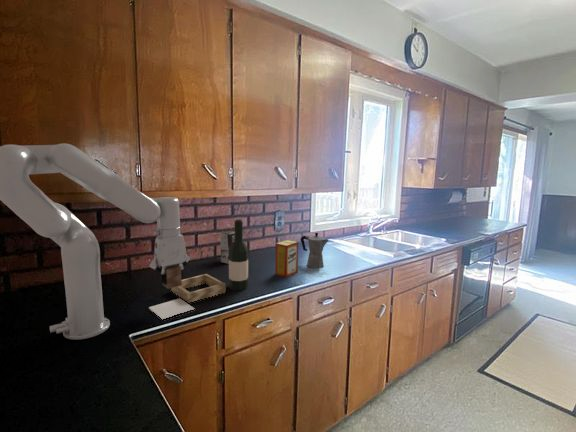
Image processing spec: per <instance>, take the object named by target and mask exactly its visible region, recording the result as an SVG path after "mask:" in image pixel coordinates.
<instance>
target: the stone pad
mask: <svg viewBox="0 0 576 432" xmlns="http://www.w3.org/2000/svg"><path fill="white" fill-rule="evenodd" d="M194 309H195V310H196V308H195V307H193V306H191V305H190V304H188V303H187V302H185V301H184V300H182V299H181V298H180V297H178V298H176V299H172V300H169V301H166V302H162V303H160V304H159V303H158V304H156V305H152V306H149V307H148V310H149V311H151V312H152V313H153V312H154V313H155V314H156V315H157V316H156V315H155V314H154V313H153V314H154V315H155V316H156V317H158V316H159V317H160V318H161V319H162V320H163V319H166V318H169V317H172V316H174V315H177V314H180V313H184V312H187V311H190V310H194ZM195 310H194V311H195ZM159 317H158V318H159ZM160 318H159V319H160ZM161 319H160V320H161ZM162 320H161V321H162Z"/></svg>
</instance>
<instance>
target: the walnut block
mask: <svg viewBox="0 0 576 432" xmlns="http://www.w3.org/2000/svg"><path fill="white" fill-rule="evenodd" d="M165 274H166V281H167V284H166V285H164V284H163V283H161V285H162V286H163V287H165V288H166V289H168V290H169V289H171V288H173V287H177V286H180V285H182V282H181V266H179V265H177V264H175V265H170V266H166V269H165Z"/></svg>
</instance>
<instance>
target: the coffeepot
mask: <svg viewBox="0 0 576 432" xmlns="http://www.w3.org/2000/svg"><path fill="white" fill-rule="evenodd" d="M314 234H315V235H314V236H313V235H312V236H309V235H303V236H301V237H300V243H301V246H302V249H303V251H306V252H307V251H308V249H309V252H308V258H307V261H306V262H307V263H306V266H307V267H308V268H312V269H321V268H323V267H324V260H323V259H324V258H323V251H324V247H325V245H326V244H327V242H329V240H328V239H327V238H325V237H323V236H319V233H318V232H315V233H314ZM305 240H306V241H307V242H308V249H307V248H306V244H305Z"/></svg>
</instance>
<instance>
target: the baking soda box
mask: <svg viewBox="0 0 576 432" xmlns="http://www.w3.org/2000/svg"><path fill="white" fill-rule="evenodd" d="M298 261H299V241H295V240H289V239H287V240H282V241H280V242H276V243H275V263H274V264H275V266H274V267H275V270H274V271H275V272H274V273H275V274H274V275H276V276H279V277H283V278H288V277H290V276H293V275H295V274H297V273H298V266H299V265H298V263H299V262H298Z"/></svg>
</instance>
